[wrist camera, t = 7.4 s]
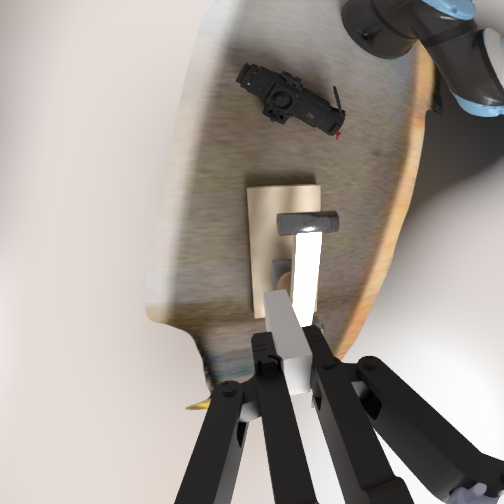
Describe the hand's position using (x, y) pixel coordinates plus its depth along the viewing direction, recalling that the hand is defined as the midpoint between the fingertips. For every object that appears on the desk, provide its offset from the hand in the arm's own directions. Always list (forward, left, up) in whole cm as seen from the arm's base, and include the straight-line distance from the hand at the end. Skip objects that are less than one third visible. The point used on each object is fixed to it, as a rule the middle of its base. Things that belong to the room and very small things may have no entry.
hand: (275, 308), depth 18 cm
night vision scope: (-8, -19, -30) cm, 37 cm away
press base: (-6, +8, -30) cm, 32 cm away
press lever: (-6, +7, -18) cm, 20 cm away
